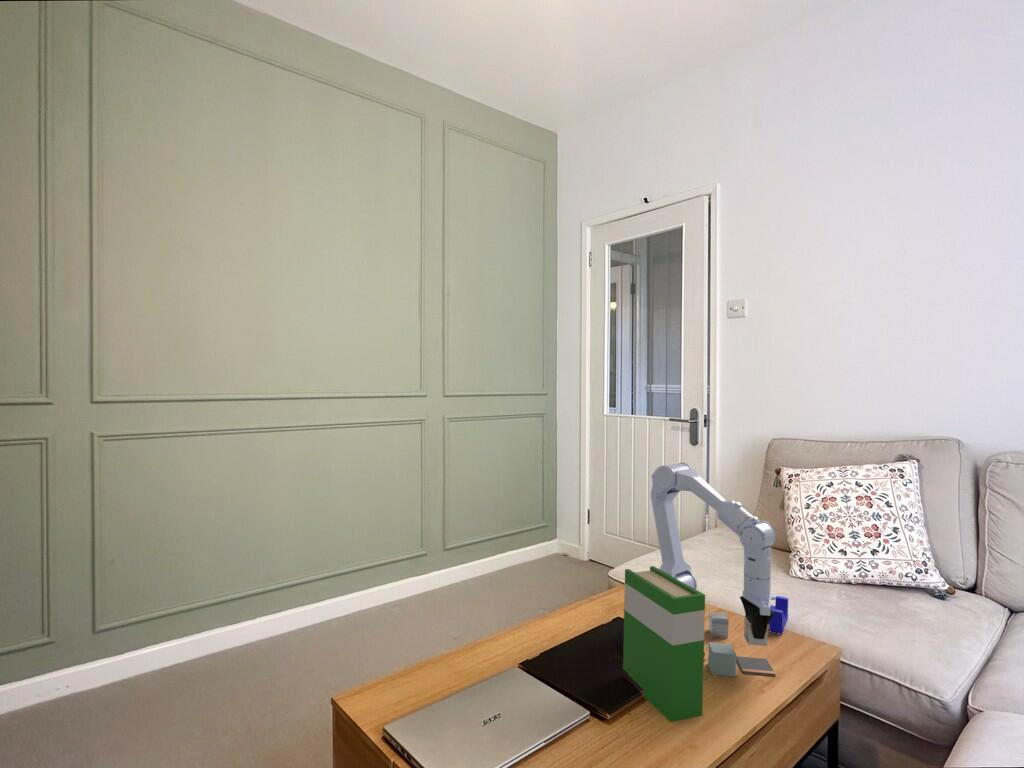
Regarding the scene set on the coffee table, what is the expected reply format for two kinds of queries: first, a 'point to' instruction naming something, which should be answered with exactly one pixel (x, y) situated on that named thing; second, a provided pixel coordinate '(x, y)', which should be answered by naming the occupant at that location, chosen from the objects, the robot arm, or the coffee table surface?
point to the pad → (755, 666)
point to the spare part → (749, 634)
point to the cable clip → (779, 615)
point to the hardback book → (665, 641)
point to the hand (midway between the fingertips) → (755, 633)
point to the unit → (722, 659)
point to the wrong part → (718, 624)
